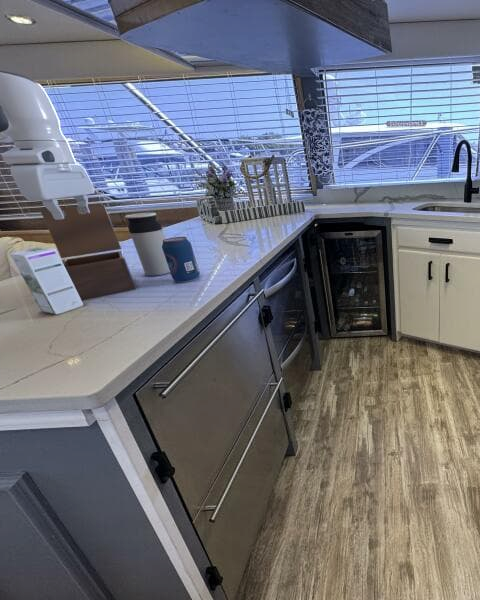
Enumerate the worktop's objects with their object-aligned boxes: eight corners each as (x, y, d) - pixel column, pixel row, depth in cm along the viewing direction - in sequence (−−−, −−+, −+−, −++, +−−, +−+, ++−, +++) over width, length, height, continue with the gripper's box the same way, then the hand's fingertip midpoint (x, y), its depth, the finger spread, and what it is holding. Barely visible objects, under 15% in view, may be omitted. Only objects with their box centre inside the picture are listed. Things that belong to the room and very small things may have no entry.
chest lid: (104, 204, 89) (104, 205, 90) (40, 210, 82) (40, 210, 82) (121, 249, 92) (121, 249, 93) (61, 258, 85) (61, 258, 86)
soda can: (169, 281, 93) (154, 240, 89) (193, 274, 99) (181, 235, 94) (181, 284, 90) (167, 242, 85) (205, 277, 95) (193, 237, 90)
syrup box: (85, 305, 79) (57, 247, 73) (55, 315, 74) (22, 254, 68) (70, 303, 80) (42, 246, 75) (40, 313, 75) (7, 253, 70)
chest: (135, 288, 88) (123, 258, 85) (73, 302, 81) (57, 268, 77) (133, 279, 96) (122, 250, 93) (76, 290, 89) (62, 259, 86)
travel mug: (181, 270, 103) (162, 212, 96) (154, 277, 97) (132, 217, 90) (167, 267, 107) (148, 212, 100) (140, 274, 100) (118, 216, 93)
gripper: (60, 157, 83) (83, 212, 88) (-7, 154, 65) (27, 223, 70) (89, 156, 85) (110, 210, 90) (32, 154, 66) (62, 221, 72)
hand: (73, 216), depth 80 cm, fingers open, 8 cm apart
